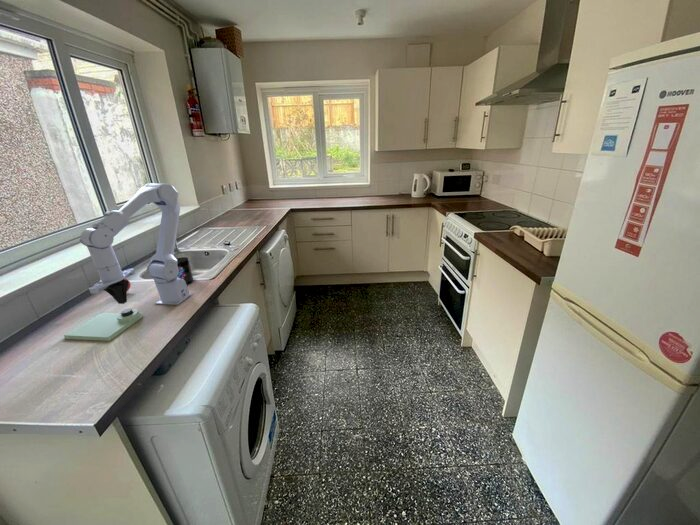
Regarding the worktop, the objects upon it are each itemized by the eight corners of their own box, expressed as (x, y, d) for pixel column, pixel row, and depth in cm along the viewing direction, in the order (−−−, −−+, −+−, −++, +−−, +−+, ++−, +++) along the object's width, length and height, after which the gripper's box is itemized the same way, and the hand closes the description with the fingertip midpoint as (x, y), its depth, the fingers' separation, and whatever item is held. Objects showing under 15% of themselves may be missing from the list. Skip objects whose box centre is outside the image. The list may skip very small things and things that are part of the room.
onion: (123, 297, 115) (116, 279, 112) (112, 296, 117) (104, 278, 114) (136, 290, 121) (129, 273, 118) (125, 289, 122) (118, 272, 119)
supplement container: (175, 282, 126) (168, 260, 122) (191, 277, 130) (185, 256, 126) (179, 287, 122) (172, 264, 118) (196, 281, 126) (190, 259, 122)
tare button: (135, 312, 99) (133, 308, 98) (127, 317, 96) (126, 313, 95) (127, 312, 99) (125, 308, 98) (120, 317, 96) (118, 313, 96)
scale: (144, 316, 101) (141, 309, 100) (110, 341, 88) (107, 333, 87) (104, 315, 103) (100, 308, 102) (65, 338, 91) (61, 331, 90)
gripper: (116, 256, 98) (130, 292, 103) (73, 274, 84) (91, 314, 90) (134, 256, 97) (147, 292, 102) (94, 275, 83) (111, 314, 89)
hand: (122, 302), depth 96 cm, fingers closed
